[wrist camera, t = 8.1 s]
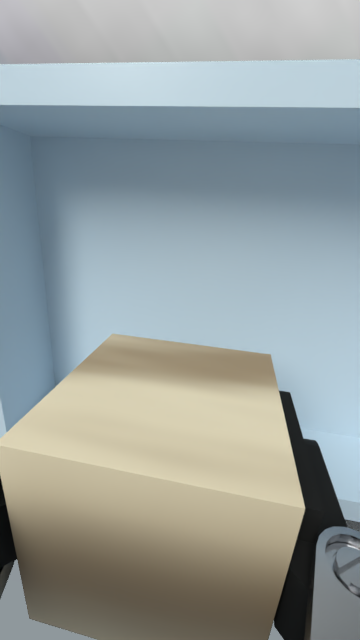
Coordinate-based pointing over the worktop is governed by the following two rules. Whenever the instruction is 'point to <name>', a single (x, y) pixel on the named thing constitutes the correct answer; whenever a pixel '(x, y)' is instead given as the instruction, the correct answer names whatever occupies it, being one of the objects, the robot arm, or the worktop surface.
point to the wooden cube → (155, 494)
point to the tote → (186, 226)
